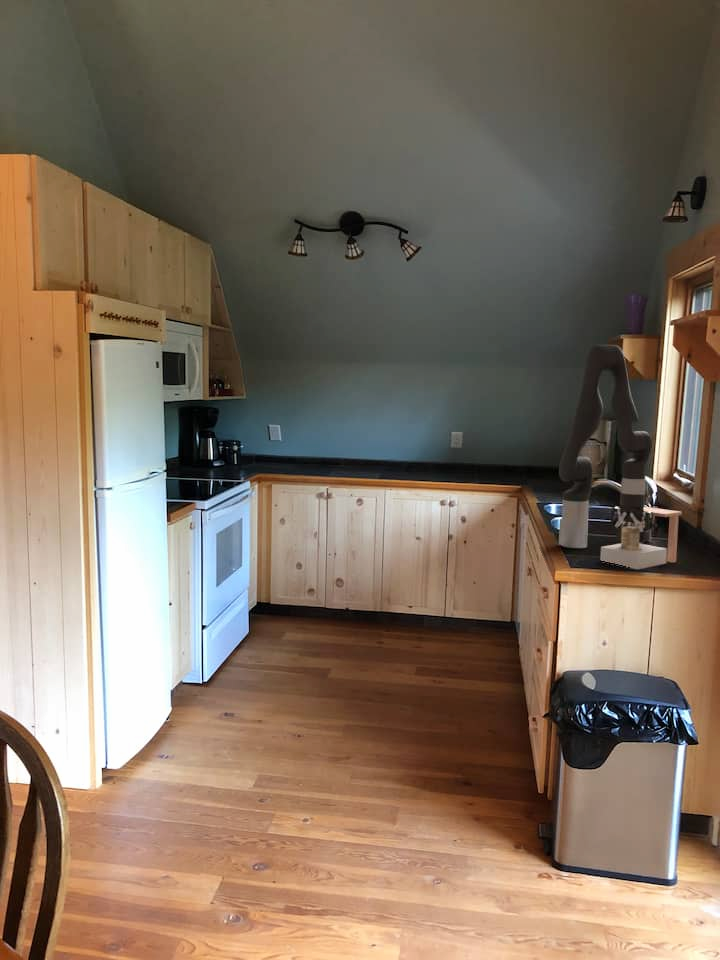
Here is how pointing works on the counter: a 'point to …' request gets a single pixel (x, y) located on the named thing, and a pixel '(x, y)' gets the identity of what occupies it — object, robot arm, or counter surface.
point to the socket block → (634, 556)
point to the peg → (630, 538)
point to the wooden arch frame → (672, 529)
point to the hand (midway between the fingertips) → (630, 540)
